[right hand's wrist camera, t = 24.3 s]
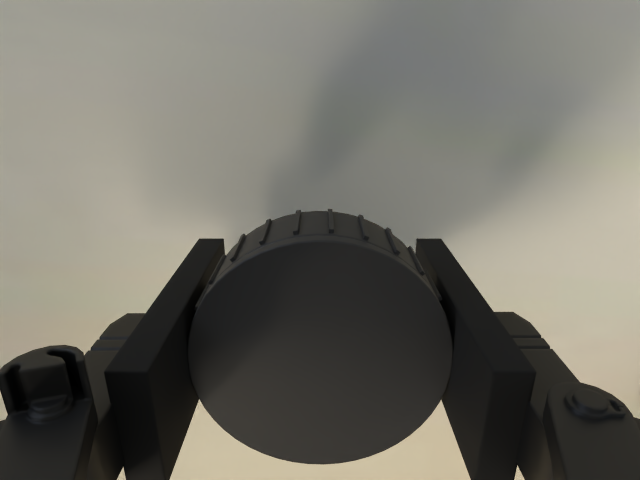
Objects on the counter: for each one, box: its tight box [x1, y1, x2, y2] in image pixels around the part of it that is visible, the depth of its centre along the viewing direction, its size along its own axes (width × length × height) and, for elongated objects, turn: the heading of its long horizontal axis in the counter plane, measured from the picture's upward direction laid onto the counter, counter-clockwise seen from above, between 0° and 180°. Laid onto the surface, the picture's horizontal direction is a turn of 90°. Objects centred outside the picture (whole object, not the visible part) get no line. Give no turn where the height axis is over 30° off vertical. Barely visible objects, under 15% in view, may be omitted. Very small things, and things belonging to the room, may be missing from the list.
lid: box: [187, 209, 453, 464], centre depth 11 cm, size 6×6×2 cm
